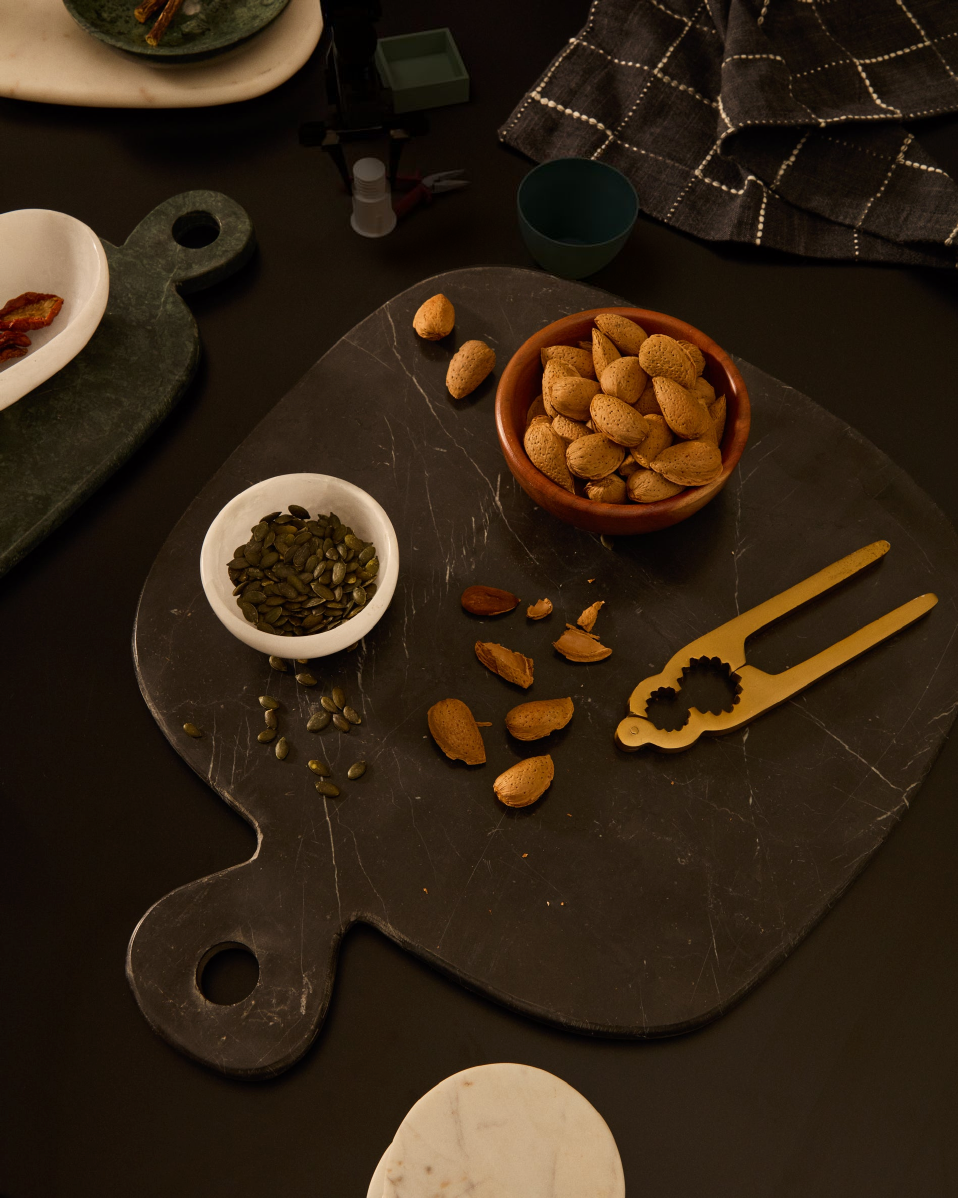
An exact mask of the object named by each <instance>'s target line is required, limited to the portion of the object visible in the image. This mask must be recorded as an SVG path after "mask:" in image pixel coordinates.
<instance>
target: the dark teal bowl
mask: <svg viewBox="0 0 958 1198" xmlns="http://www.w3.org/2000/svg"><path fill="white" fill-rule="evenodd" d="M517 190H518V191H517V196H516V197H517V198H516V209H517V210H516V211H517V218H518V224H519V228H520V232H521V235H522V239H523V241H524V243H525V246H526V248H527V249H528V251H529V253H530V255H531V256H532V258H533V259H534V260H535V261H536V263H537V264H539V266H540V267H542V268H543V269H544V270H545V271H546V272H547V273H549V274H550V275H551V276H553V275H555V276H554V277H556V276H557V277H556V278H558V277H560V278H559V279H561V278H563V279H562V280H565V279H566V280H567V281H575V280H581V279H584V278H586V277H589V276H591V275H594V274H595V273H597V272H599V271H600V270H602V269H603V268H605V267H606V266H607V265H608V264H610V262H611V261H613V260H614V258H615V257H617V255H618V254H619V252H620V251H621V250H622V248H623V247H624V245H625V244H626V242H627V241H628V239H629V237H630V235H631V233H632V231H633V228H634V226H635V224H636V221H637V218H638V213H639V207H640V206H639V197H638V193H637V190H636V188H635V187H634V185H633V183H632V182H631V181H630V180H629V178H627V177H626V176H625V174H623V172H621V171H619V170H618V169H617V168H615V167H613V166H612V165H609V164H607V163H605V162H604V161H600V160H597V159H593V158H588V157H582V156H564V157H558V158H553V159H550V160H547V161H544V162H542V163H541V164H539V165H537V166H535V167H534V168H532V169H531V170H530V171H529V172H527V174H526V175H525V176H524V177H523V179H522V181H521V182H520V184H519V187H518V189H517Z"/></svg>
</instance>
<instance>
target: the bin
mask: <svg viewBox="0 0 958 1198" xmlns="http://www.w3.org/2000/svg"><path fill="white" fill-rule="evenodd" d="M375 62H376V68H377V71H378V72H379V73H380V75H381V83H382V86H383V88H386V87H392V91H393V99H394V109H395V114H394V115H398V114H399V115H400V114H405V113H412V112H416V111H423V110H427V109H433V108H439V107H444V106H450V105H455V104H456V105H457V104H462V103H466V102H469V101H470V76H469V74H468V72H467V71H468V70H467V68H466V67H465V63H464V61H463V59H462V57H461V54H460V52H459V50H458V47H457V45H456V42H455V40H454V37H453V36H452V33H451V30H450V28H449V27H444V28H438V29H432V30H425V31H419V32H413V33H407V34H400V35H395V36H394V35H393V36H389V37H381V38H378V44H377V49H376V53H375Z"/></svg>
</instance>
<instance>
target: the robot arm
mask: <svg viewBox="0 0 958 1198" xmlns="http://www.w3.org/2000/svg"><path fill="white" fill-rule="evenodd" d="M318 2H319V8H320V15H321V20H322V24H323V28H331V32H332V39H331V42H330V45H329V48H328V50H327V53H326V57H325V59H326V65H327V68H323V79H324V84H325V85H324V86H325V92H326V99H327V106H332V105H335V110H336V112H335V113H333V114H332V119H333V120H332V121H333V122H334V125H329V126H326V123H325V120H319V121H317V120H316V121H308V122H300V123H299V125H298V126H297V127H296V128H297V129H296V130H297V135H298V142H299V146H300V148H313V147H314V148H315V147H320V151H321V153H328V155H329V156H330V158H331V159H332V161H333V163H334V165H335V166H336V168H337V170H338V172H339V174H340V177H341V180H342V182H343V181H344V184H345V186H346V188H347V193H348V195H349V197H350V198H352V197H353V194H352V186H351V182H350V178H349V176H350V175H349V170H348V165H347V163H346V159H345V155H344V151H343V147H342V143H340V141H341V142H346V141H352V140H358V139H363V138H368V137H376V136H387V135H389V138H390V140H389V142H388V164H389V165H388V166H389V167H388V173H389V182H390V190H391V194H393V193H394V192H395V189H394V188H395V182H396V176H397V174H398V170H399V169H398V168H399V163H400V159H401V154H402V152H403V148H404V146H406V145H410V143H411V142H412V138H420V137H427V136H429V134H430V133H431V124H430V117H429V115H428V114H427V113H426V112H425V111H417V112H416V111H415V112H405V113H400V114H399V117H398V119H393V120H392V119H391V120H385V117H384V116H395V115H396V114H395V109H394V99H393V91H392V87H386V88H384V87H381V82H382V80H381V75H380V73H379V72H378V69H377V66H376V62H375V53H376V49H377V44H378V39H379V38H378V33H377V30H376V29H375V26H374V25H373V24H378V23H380V18H383V7H382V3H381V0H318Z"/></svg>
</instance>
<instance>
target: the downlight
mask: <svg viewBox="0 0 958 1198" xmlns="http://www.w3.org/2000/svg"><path fill="white" fill-rule="evenodd" d="M352 172H353V175H354V181H353V183H352V185H351V186H352V194H353V197H351V201H352V210H353V212H352V213H351V215H350V225H351V227H352V229H353V230H354V232H356V233H357V234H358V235H360V236H362V237H364V238H372V239H375V238H381V237H384V236H387V235H388V234H390V233H391V232H392V231H393V230H394V229H395V227H396V225H397V220H396V215H395V213H394V211H393V210H392V206H393V205H392V193H391V190H390V183H389V182H388V180H387V179H386V176H385V173H386V167H385V164H384V163H383V162H382V161H381V160H379V159H378V158H375V157H364V158H360V159H358V160H357V161H356V162H355V163H354V165H353V167H352Z"/></svg>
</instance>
